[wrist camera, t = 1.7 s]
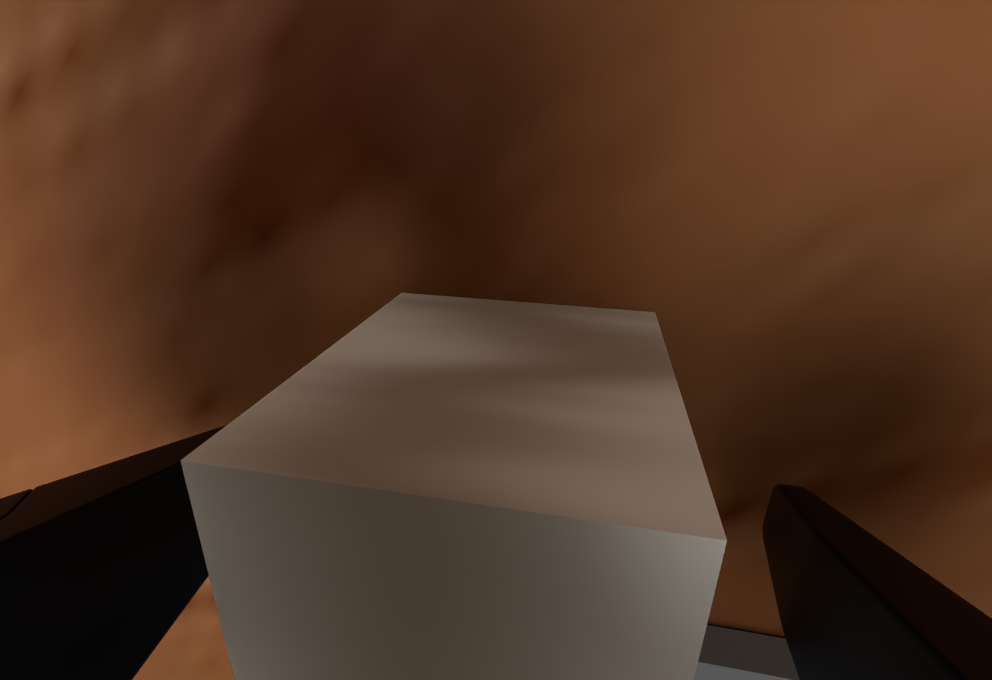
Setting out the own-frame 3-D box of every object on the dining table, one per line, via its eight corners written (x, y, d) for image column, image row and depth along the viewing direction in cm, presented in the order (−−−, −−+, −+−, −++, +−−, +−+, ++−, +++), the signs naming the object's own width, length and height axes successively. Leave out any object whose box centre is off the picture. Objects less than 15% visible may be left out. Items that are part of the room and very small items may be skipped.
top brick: (654, 311, 10) (727, 541, 4) (624, 523, 11) (646, 877, 6) (402, 292, 10) (181, 460, 5) (412, 491, 12) (258, 776, 7)
